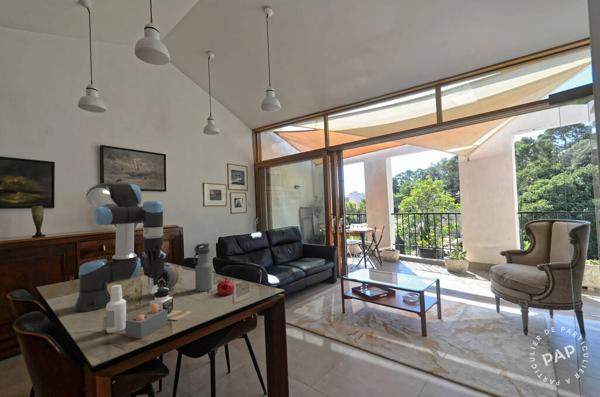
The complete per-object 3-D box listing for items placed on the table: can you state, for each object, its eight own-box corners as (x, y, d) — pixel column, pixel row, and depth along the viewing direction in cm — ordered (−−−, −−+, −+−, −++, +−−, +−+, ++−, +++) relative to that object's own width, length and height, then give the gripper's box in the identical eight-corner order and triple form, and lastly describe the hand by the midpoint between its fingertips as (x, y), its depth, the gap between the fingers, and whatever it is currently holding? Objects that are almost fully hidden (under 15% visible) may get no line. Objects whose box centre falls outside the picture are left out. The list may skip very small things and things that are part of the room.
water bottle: (191, 291, 158) (191, 244, 159) (200, 286, 167) (199, 242, 168) (207, 292, 156) (206, 244, 157) (215, 287, 166) (214, 242, 167)
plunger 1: (133, 331, 104) (133, 317, 104) (140, 327, 107) (140, 314, 107) (139, 332, 103) (139, 317, 104) (146, 328, 106) (146, 314, 106)
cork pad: (161, 318, 119) (161, 317, 119) (175, 311, 128) (175, 310, 128) (177, 321, 116) (177, 319, 116) (191, 313, 125) (191, 311, 125)
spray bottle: (112, 326, 113) (112, 283, 113) (129, 325, 113) (129, 283, 114) (102, 333, 106) (102, 288, 106) (120, 332, 106) (120, 287, 107)
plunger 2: (148, 318, 111) (148, 305, 111) (154, 315, 114) (154, 303, 114) (154, 319, 110) (154, 306, 110) (160, 316, 113) (160, 303, 113)
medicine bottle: (163, 317, 120) (162, 291, 121) (149, 316, 122) (149, 290, 122) (173, 311, 127) (173, 286, 128) (160, 310, 129) (160, 286, 129)
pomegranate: (226, 290, 159) (226, 274, 160) (237, 292, 154) (237, 276, 154) (212, 294, 151) (212, 278, 152) (223, 297, 146) (223, 280, 146)
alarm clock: (149, 295, 152) (149, 264, 153) (162, 290, 162) (161, 261, 162) (171, 297, 149) (170, 265, 149) (182, 291, 158) (182, 262, 159)
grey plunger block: (125, 336, 103) (125, 320, 104) (152, 322, 116) (152, 308, 116) (141, 338, 101) (141, 322, 101) (167, 323, 114) (167, 309, 114)
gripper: (133, 238, 111) (133, 294, 110) (158, 238, 107) (158, 296, 106) (148, 236, 118) (148, 288, 117) (172, 236, 114) (172, 291, 114)
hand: (153, 292), depth 112 cm, fingers closed
